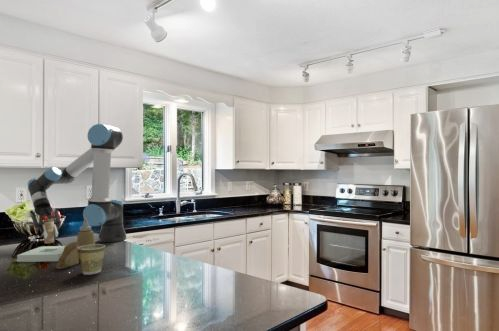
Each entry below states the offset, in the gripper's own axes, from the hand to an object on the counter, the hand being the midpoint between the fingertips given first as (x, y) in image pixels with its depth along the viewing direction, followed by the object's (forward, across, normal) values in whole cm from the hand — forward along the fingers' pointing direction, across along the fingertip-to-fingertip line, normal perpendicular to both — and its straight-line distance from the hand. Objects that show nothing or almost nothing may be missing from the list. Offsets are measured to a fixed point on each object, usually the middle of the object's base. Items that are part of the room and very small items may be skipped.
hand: (51, 236), depth 184 cm
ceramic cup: (+45, +1, +34) cm, 56 cm away
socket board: (+15, +6, +5) cm, 17 cm away
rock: (+33, +6, +22) cm, 40 cm away
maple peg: (0, 0, -5) cm, 5 cm away
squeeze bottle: (+27, -5, +16) cm, 32 cm away
